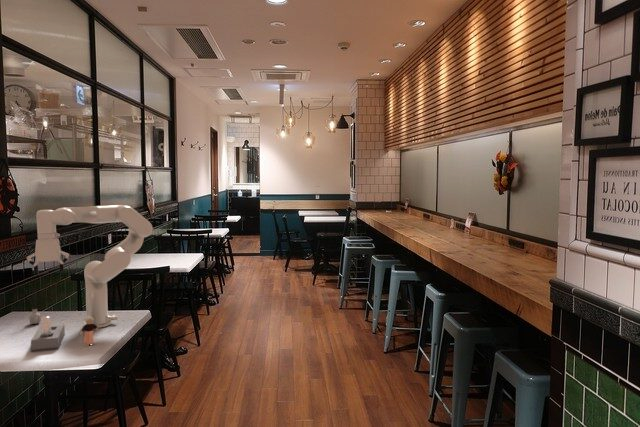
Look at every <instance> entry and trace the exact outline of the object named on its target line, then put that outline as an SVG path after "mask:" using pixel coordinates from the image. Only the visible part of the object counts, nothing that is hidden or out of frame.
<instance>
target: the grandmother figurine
mask: <svg viewBox="0 0 640 427" xmlns="http://www.w3.org/2000/svg"><path fill="white" fill-rule="evenodd" d="M92 321H93V317H91V316H88V317H87V316H86V317H85V318H84V323H85V322H86V323H87V324H86V325H85V326H82V328H81V330H80V333H79V335H81V336H82V335H83V334H84V340H83V347H84V346H86V347H89V346H88V345H89V344H94V345H95V342H94V330H95V331H96V332H98V331H99V329H100V328H97V326H96V325H95V324H91V323H92Z"/></svg>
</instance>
